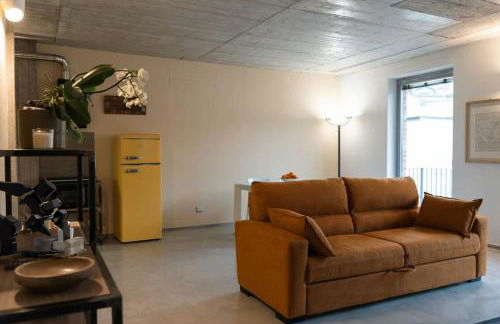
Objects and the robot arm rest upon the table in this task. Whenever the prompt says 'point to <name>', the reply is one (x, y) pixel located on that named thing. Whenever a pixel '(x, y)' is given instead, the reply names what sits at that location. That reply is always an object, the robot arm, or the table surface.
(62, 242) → the dark knobbed lever handle
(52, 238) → the base
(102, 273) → the table surface
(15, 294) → the table surface
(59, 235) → the shot glass
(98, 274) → the table surface
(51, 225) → the candy box
